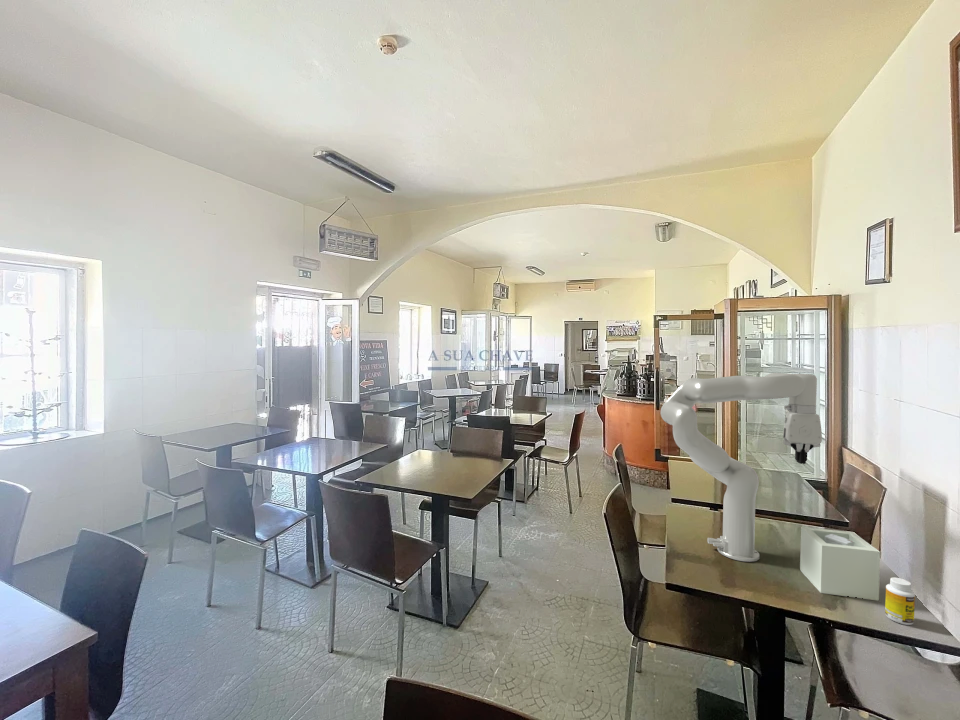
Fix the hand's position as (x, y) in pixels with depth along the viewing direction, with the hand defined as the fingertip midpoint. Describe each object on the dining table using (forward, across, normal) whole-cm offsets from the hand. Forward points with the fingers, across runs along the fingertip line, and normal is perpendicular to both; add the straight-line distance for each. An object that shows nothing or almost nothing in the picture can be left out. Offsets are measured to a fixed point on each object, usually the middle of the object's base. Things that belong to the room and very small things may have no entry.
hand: (800, 462), depth 151 cm
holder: (+32, +3, -19) cm, 37 cm away
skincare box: (+30, +3, -19) cm, 36 cm away
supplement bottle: (+32, +10, -35) cm, 49 cm away
